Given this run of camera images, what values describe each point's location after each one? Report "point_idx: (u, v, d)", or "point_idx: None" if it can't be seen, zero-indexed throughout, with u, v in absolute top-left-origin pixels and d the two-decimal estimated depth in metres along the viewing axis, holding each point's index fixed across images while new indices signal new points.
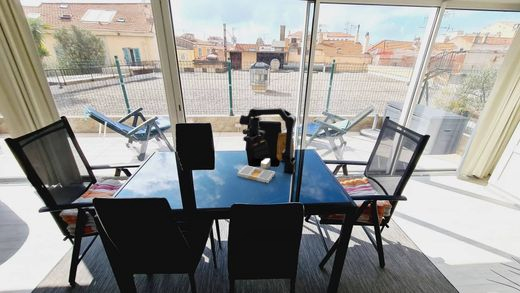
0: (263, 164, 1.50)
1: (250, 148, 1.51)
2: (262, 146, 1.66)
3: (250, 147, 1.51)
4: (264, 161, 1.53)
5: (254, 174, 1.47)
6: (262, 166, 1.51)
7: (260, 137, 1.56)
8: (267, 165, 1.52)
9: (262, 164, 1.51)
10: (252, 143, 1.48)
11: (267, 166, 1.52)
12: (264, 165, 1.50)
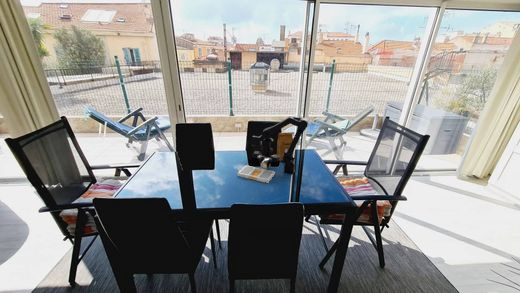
0: (263, 164, 1.50)
1: None
2: None
3: None
4: (264, 161, 1.52)
5: (254, 174, 1.47)
6: (262, 166, 1.51)
7: None
8: (267, 165, 1.52)
9: (262, 164, 1.51)
10: (259, 160, 1.52)
11: (267, 166, 1.52)
12: (264, 165, 1.50)
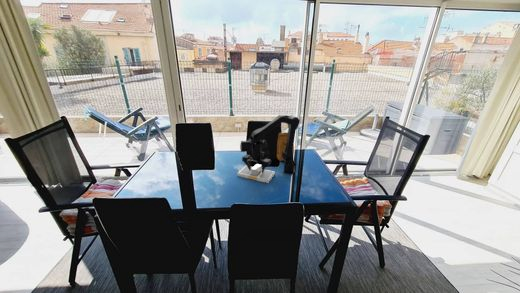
0: (253, 170, 1.41)
1: None
2: (262, 146, 1.66)
3: (249, 168, 1.47)
4: (255, 167, 1.43)
5: None
6: (252, 172, 1.42)
7: None
8: (258, 171, 1.43)
9: (252, 170, 1.41)
10: (246, 164, 1.44)
11: (257, 173, 1.43)
12: (254, 171, 1.41)
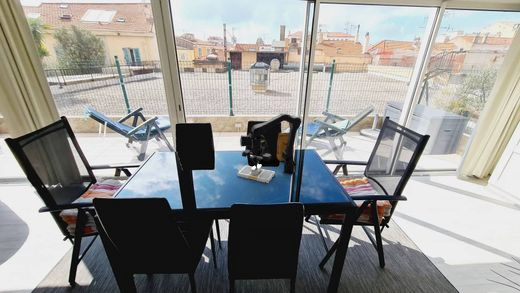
0: (253, 170, 1.41)
1: None
2: (262, 146, 1.66)
3: (255, 164, 1.44)
4: (255, 167, 1.43)
5: None
6: (252, 172, 1.42)
7: None
8: (258, 171, 1.43)
9: (252, 170, 1.41)
10: (252, 160, 1.41)
11: (257, 173, 1.43)
12: (254, 171, 1.41)
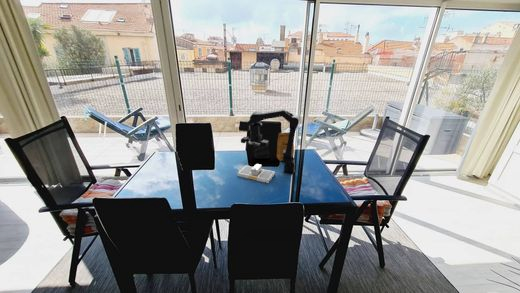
0: (253, 170, 1.41)
1: None
2: None
3: None
4: (255, 167, 1.43)
5: None
6: (252, 172, 1.42)
7: None
8: (258, 171, 1.43)
9: (252, 170, 1.41)
10: (251, 146, 1.47)
11: (257, 173, 1.43)
12: (254, 171, 1.41)
